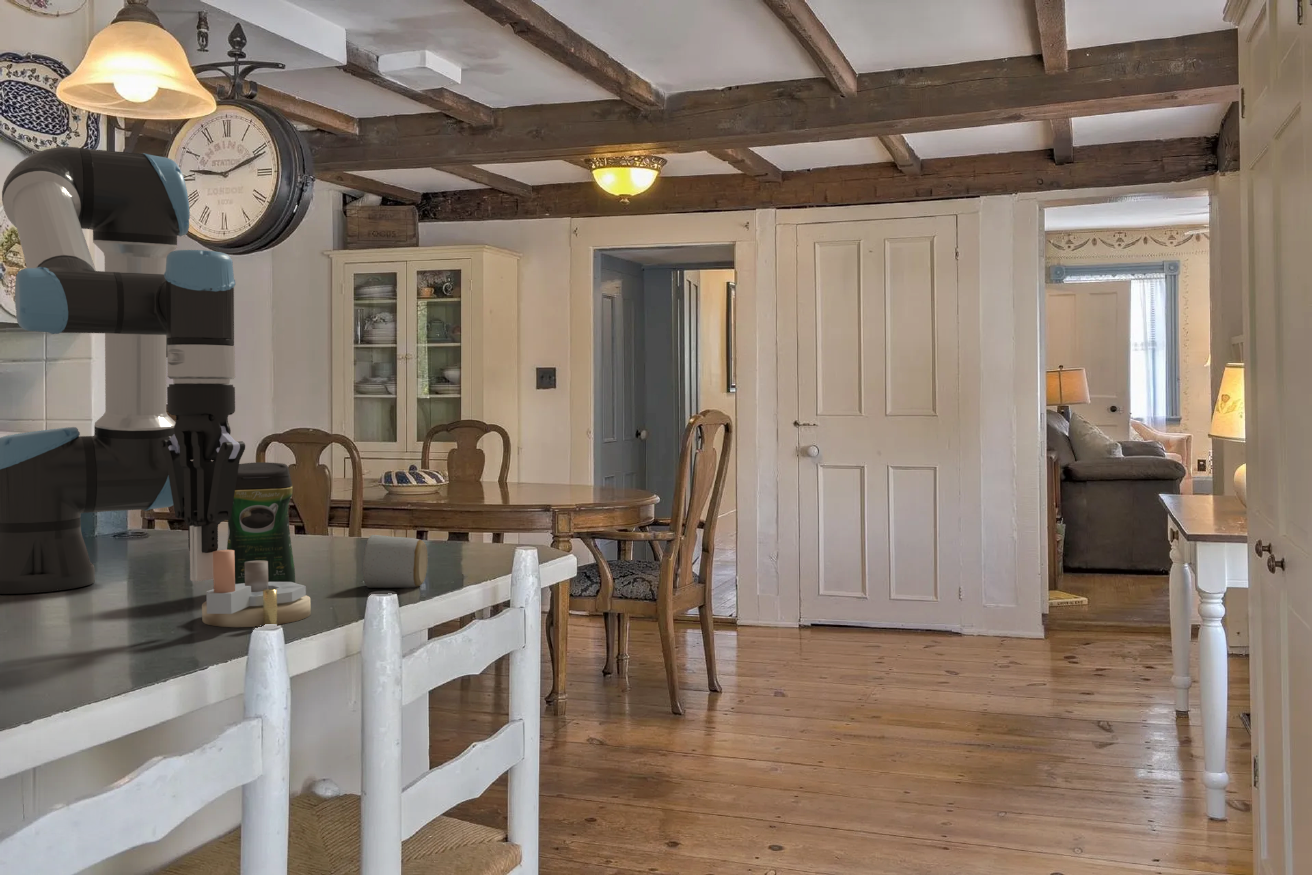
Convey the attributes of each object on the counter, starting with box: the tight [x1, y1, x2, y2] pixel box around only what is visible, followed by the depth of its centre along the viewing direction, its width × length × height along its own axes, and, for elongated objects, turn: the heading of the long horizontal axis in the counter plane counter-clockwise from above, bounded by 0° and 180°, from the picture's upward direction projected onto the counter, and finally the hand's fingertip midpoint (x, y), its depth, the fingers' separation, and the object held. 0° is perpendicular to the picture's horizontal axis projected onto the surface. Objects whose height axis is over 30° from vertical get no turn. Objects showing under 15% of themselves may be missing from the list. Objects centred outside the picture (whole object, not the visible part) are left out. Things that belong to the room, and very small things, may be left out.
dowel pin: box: [263, 589, 278, 625], centre depth 141 cm, size 2×2×4 cm
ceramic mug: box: [362, 534, 429, 589], centre depth 171 cm, size 11×8×8 cm
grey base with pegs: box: [205, 549, 307, 614], centre depth 144 cm, size 16×11×7 cm
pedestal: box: [201, 560, 312, 628], centre depth 147 cm, size 13×13×7 cm
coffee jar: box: [226, 461, 296, 584], centre depth 167 cm, size 10×8×19 cm
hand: (203, 579), depth 139 cm, fingers closed
